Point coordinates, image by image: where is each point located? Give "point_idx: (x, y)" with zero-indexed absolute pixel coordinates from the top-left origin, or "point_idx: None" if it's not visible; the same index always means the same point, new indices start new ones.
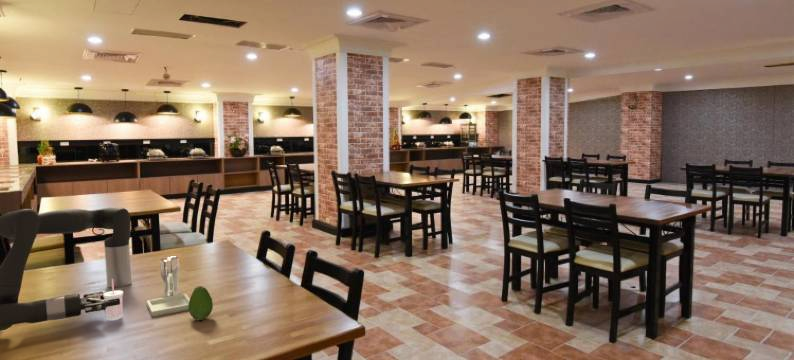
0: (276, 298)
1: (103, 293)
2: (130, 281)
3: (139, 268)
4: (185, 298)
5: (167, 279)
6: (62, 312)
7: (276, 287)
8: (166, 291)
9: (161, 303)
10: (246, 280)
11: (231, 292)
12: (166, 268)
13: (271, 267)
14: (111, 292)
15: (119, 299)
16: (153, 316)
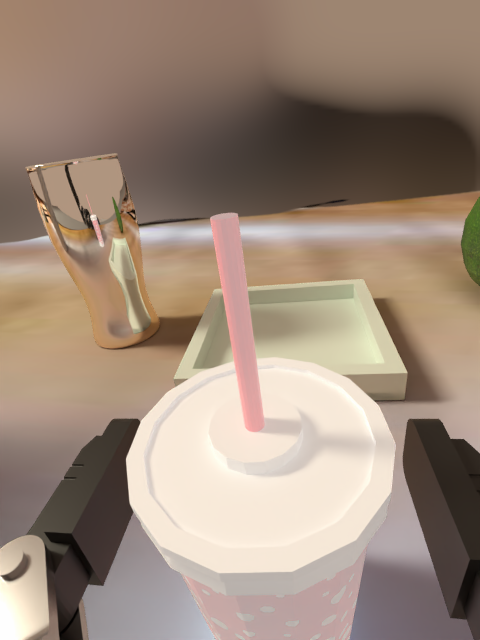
0: (370, 219)
1: (35, 564)
2: None
3: None
4: (257, 296)
5: (126, 260)
6: None
7: (289, 220)
8: (131, 319)
9: (226, 353)
10: (189, 240)
11: (258, 252)
12: (111, 202)
13: (147, 224)
14: (237, 440)
15: (434, 424)
16: (402, 393)
